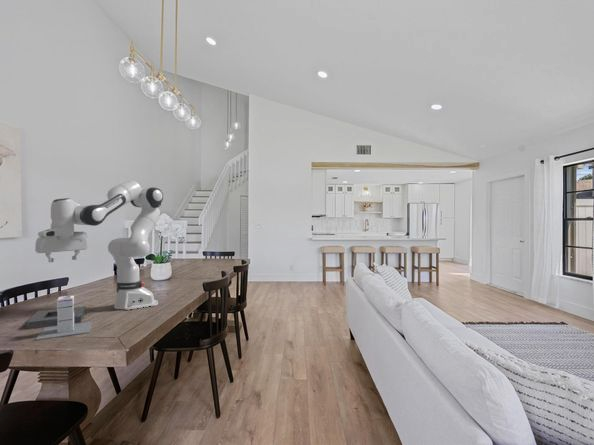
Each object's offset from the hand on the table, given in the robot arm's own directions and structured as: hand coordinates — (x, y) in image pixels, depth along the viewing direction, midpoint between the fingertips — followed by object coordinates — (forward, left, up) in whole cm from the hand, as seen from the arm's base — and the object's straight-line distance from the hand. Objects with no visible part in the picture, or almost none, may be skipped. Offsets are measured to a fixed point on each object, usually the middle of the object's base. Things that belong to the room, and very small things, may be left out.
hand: (63, 260), depth 147 cm
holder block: (+2, -5, -29) cm, 30 cm away
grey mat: (-4, +16, -29) cm, 33 cm away
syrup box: (-3, +16, -29) cm, 33 cm away
